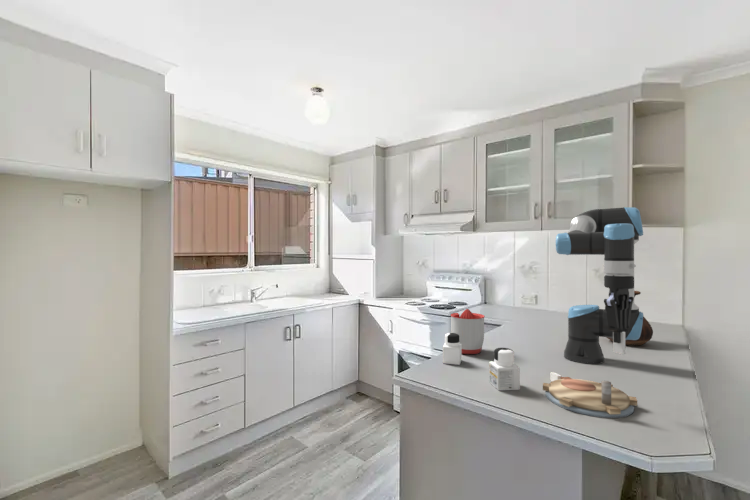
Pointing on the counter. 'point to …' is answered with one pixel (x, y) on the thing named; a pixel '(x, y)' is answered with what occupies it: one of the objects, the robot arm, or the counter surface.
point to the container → (504, 370)
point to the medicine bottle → (452, 349)
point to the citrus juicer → (469, 331)
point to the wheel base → (581, 410)
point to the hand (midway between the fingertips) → (619, 353)
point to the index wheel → (589, 395)
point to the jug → (645, 332)
